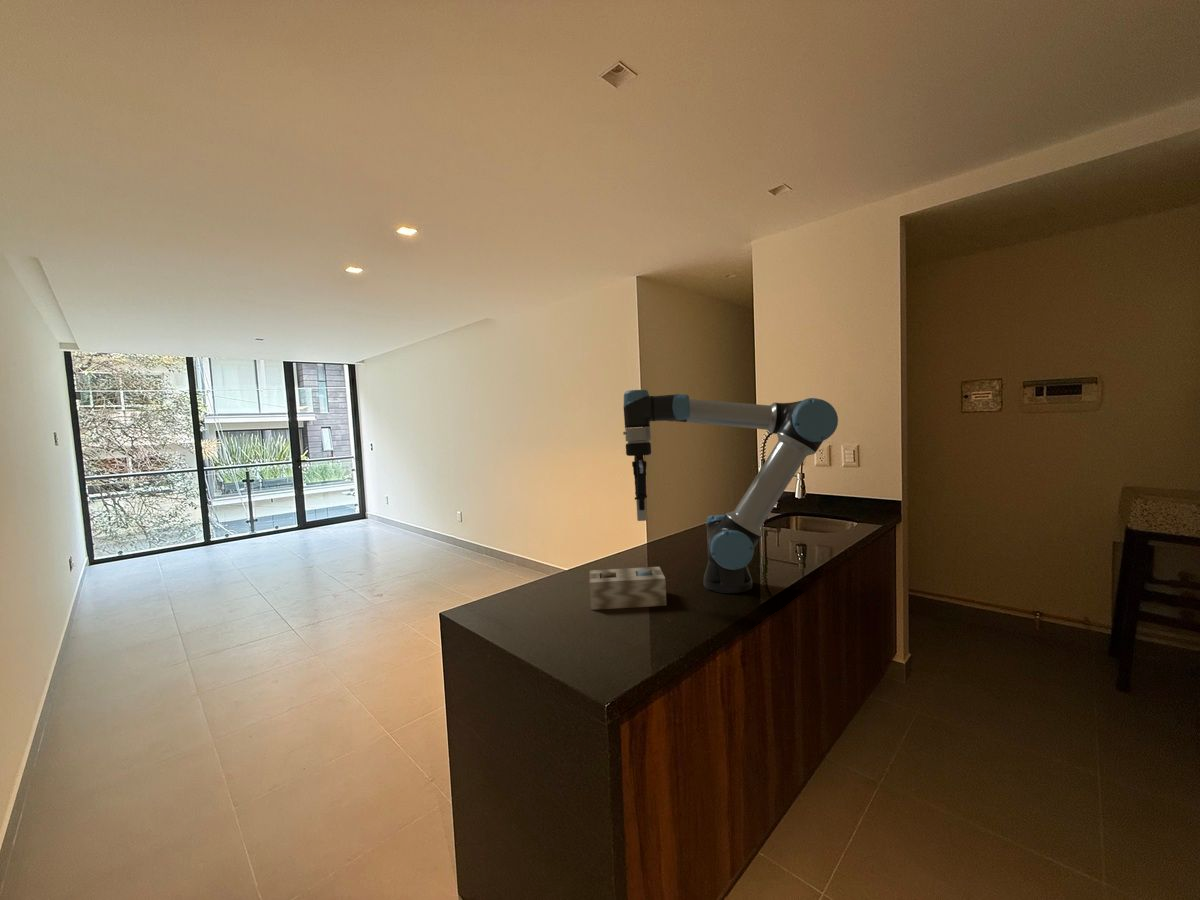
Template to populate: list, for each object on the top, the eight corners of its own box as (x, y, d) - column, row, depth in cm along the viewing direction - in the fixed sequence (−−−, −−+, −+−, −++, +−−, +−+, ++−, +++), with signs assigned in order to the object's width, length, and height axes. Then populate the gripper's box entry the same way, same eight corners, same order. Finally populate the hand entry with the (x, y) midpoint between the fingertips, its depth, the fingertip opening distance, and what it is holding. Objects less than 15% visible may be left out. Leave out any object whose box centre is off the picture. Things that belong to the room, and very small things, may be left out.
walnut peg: (615, 597, 146) (614, 571, 146) (616, 602, 142) (614, 575, 142) (602, 598, 146) (601, 572, 146) (602, 603, 142) (601, 576, 142)
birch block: (660, 591, 150) (659, 566, 150) (666, 605, 138) (665, 578, 138) (591, 595, 150) (589, 570, 150) (591, 609, 138) (589, 582, 138)
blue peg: (651, 595, 146) (649, 569, 146) (652, 599, 142) (651, 573, 142) (638, 596, 146) (636, 570, 146) (639, 600, 142) (638, 574, 142)
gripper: (624, 442, 149) (627, 517, 150) (627, 443, 136) (631, 525, 137) (648, 440, 149) (651, 515, 150) (653, 441, 136) (657, 523, 137)
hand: (642, 520), depth 143 cm, fingers closed
